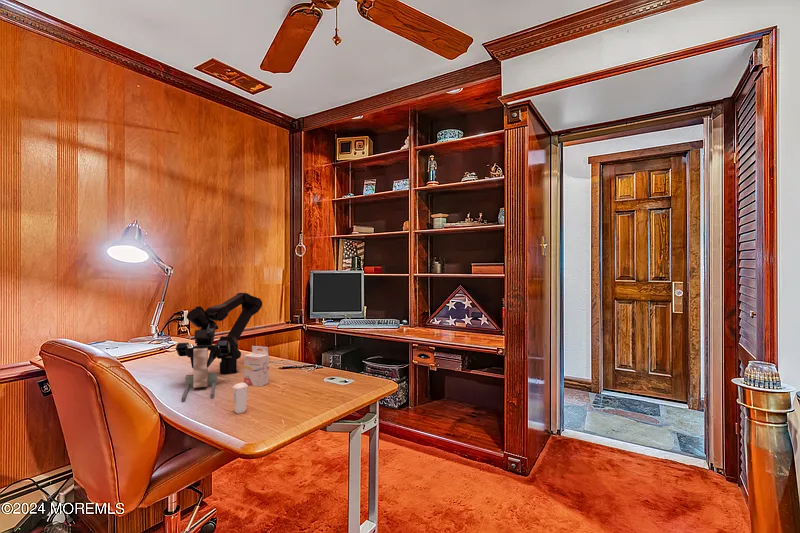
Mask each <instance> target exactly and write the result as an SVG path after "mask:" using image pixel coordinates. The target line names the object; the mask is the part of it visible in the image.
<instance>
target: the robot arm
mask: <svg viewBox="0 0 800 533" xmlns="http://www.w3.org/2000/svg"><path fill="white" fill-rule="evenodd" d="M240 305H241V312H240V314H239V316H238V317H237V319H236V321H235V322H234V324H233V326H232V327H231V329H230V331H229V332H228V334H227V335H225V336H220V338H219V340H218V341H217V343H215V344H214V342H215V341H214V340H215V336H216V330H218V329H219V328H220V327H219V325H218V324H217V323H216V322H217V321H218V322H223V321H224V320H225V319H226V318H227V317H228V316H229V313H230V312H231V311H233V310H235V309H236V308H237V307H239V306H240ZM262 307H263V301H262V299H261V298H260V297H256V296H254V295H251V294H249V293H248V292H238V293H236V294H235V295H233V296H232V297H231V298H228V300H225V301H224V302H222V303H221V304H216V305H212V306H209V307H208V308H206V310H204V308H203V307H202V306H196V307H195V308H193V309H191V310H190V311H188V312H187V314H186V319H187V320H188V321H189V322H190V323H191V325H193V326H194V327H196V328H199V329H196V330H194V335H193V339H194V343H195V344H196V345H194V344H190V343H189V342H178V343H177V344H176V345H175V346H176V347H175V350H176V352H177V355H178V356H179V357H187V358H190V359H189V360H190V362H191V363H190V364H191V368H192V369H193V352H194V349H195V348H207V347H208V351H209V356H208V362H207V367H208V368H210V366H211V364H212V363H213V362H214V361H215V359H216V358H217V359H218V360H219V359H220V360H221V361H219V373H220V375H227V374H228V375H229V374H237V373H238V366H237V364H238V360H239V359H240V358H241V357H242V352H241V351H240V350H239V340H240V337H241V335H242V333H243V332H244V330H245V329H246V327H247V325H248V323H249V322H250V320H251V318H252V316H254V315H255V314H257V313H258V312H259V311H260V309H262Z"/></svg>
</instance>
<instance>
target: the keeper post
mask: <svg viewBox="0 0 800 533" xmlns="http://www.w3.org/2000/svg"><path fill="white" fill-rule="evenodd" d="M208 352H209V350H208V347H207V348H195V349H194V352H193V368H192V369H193V373H192V374H193V387H192V388H194V389H195V388H203V387H205V388H207V383H208V373H209V370H208V368H209V367H207V362H208V358H209V356H208V354H209V353H208Z"/></svg>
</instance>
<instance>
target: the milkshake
mask: <svg viewBox="0 0 800 533" xmlns="http://www.w3.org/2000/svg"><path fill="white" fill-rule="evenodd" d="M230 384H231V386H232V394H233V395H232V396H233V401H234V402H233V404H234V413H235V414H237V415H239V414H244V413H245V412H247V401H248V400H247V399H248V391H249V389H248V388H249V385H247V384H246V383H244V382H242V381H241V382H239V383H238V382H237V383H236V384H234V385H233V382H232V381H231V380H230Z"/></svg>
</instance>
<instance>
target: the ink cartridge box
mask: <svg viewBox="0 0 800 533" xmlns="http://www.w3.org/2000/svg"><path fill="white" fill-rule="evenodd" d="M269 357H270V356H269V347H268V346H262V345H252V346H251V352H250V353H247V354H245V355H244V356H243V360H244V361H243V383H246V384H247V385H248V386H253V387H263V386H266V385H268V384H269V383H270V380H269V379H270V376H269V374H270V373H269V371H270V370H269V369H270V366H269V363H270V362H269V361H270V360H269V359H270V358H269Z"/></svg>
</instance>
